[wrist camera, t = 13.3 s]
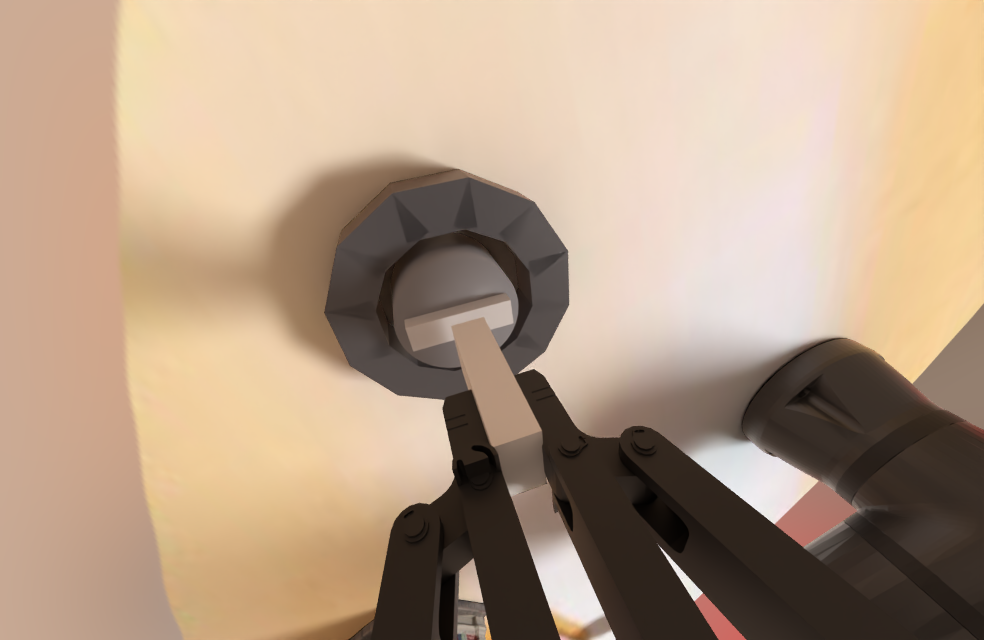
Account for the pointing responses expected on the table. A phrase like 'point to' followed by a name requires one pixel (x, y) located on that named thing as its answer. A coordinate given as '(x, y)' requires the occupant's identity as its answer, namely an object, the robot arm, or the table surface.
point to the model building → (467, 630)
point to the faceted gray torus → (425, 214)
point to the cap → (448, 296)
